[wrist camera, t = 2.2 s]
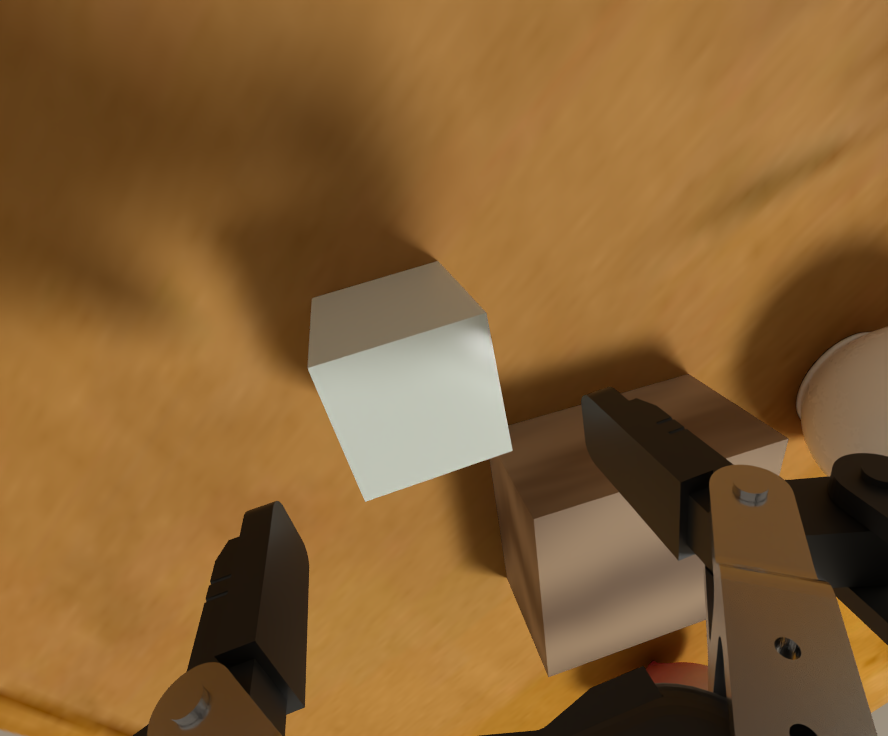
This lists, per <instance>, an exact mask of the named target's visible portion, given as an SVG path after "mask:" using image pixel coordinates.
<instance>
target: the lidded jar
mask: <svg viewBox="0 0 888 736" xmlns="http://www.w3.org/2000/svg"><path fill="white" fill-rule="evenodd" d="M796 410H797V414H798V416H799V417H800V419H801V425H802V430H803V435H804V440H805V442H806V444H807V447H808V449H809V451H810V453H811V455H812V457H813V459H814V460H815V461H816V463H817V464H818V466H819V467H820V469H821V470H822V471H823V472H824V473H825V474H826V475H827V476H828V477H830V475H831V471H832V467H833V464H834V462H835V461H836V460H837V459H839V458H840V457H842V456H845V455H848V454H854V453H872V454H879V455H884V456H888V327H884V328H881V329H878V330H876V331H873V332H862V333H857V334H854V335H852V336H849V337H847V338H845V339H843V340H841V341H840V342H838V343H837V344H835V345H834V346H832V347H831V348H830V349H829V350H827V351H826V352H825V353H824V354H823V355H822V356H821V357H820V358H819V359H818V360H817V361H816V362H815V363H814V364H813V366H812V367H811V368H810V370H809V371H808V373H807V374H806V376H805V378H804V379H803V381H802V383H801V385H800V388H799V391H798V394H797V399H796Z"/></svg>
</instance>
